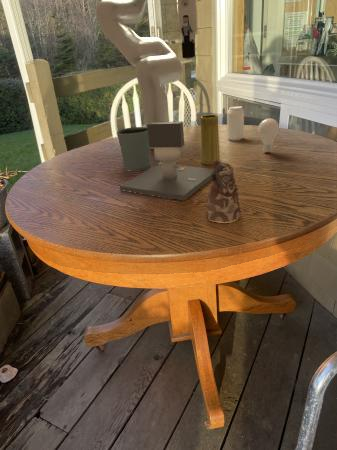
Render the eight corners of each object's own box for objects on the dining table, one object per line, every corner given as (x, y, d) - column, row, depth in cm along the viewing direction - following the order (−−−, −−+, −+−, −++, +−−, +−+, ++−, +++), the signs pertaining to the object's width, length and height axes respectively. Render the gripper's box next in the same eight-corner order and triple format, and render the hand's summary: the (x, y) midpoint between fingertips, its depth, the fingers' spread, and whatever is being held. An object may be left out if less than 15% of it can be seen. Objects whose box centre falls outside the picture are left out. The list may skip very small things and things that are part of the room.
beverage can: (227, 137, 129) (227, 106, 124) (243, 136, 128) (243, 105, 123) (227, 141, 124) (227, 109, 118) (244, 140, 123) (244, 107, 117)
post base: (120, 190, 88) (116, 166, 85) (160, 168, 103) (157, 146, 99) (183, 201, 78) (181, 173, 75) (217, 174, 93) (217, 150, 89)
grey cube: (180, 161, 83) (177, 125, 78) (147, 160, 86) (143, 126, 81) (189, 151, 90) (186, 118, 85) (158, 151, 93) (155, 119, 88)
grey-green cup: (116, 169, 106) (110, 132, 100) (139, 160, 112) (134, 125, 107) (137, 174, 100) (131, 135, 94) (159, 164, 106) (155, 127, 100)
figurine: (217, 227, 65) (215, 170, 59) (200, 214, 71) (197, 161, 65) (246, 218, 67) (248, 163, 62) (228, 206, 73) (227, 155, 68)
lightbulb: (275, 149, 109) (277, 115, 104) (279, 154, 103) (281, 119, 98) (256, 150, 110) (257, 117, 105) (258, 156, 104) (260, 121, 99)
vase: (224, 160, 103) (223, 114, 97) (212, 166, 100) (211, 118, 93) (208, 158, 107) (207, 113, 101) (197, 163, 103) (194, 117, 97)
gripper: (197, -19, 82) (200, 56, 90) (199, -8, 97) (202, 55, 105) (168, -15, 83) (174, 59, 91) (175, -5, 98) (179, 58, 106)
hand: (189, 57), depth 98 cm, fingers open, 9 cm apart
